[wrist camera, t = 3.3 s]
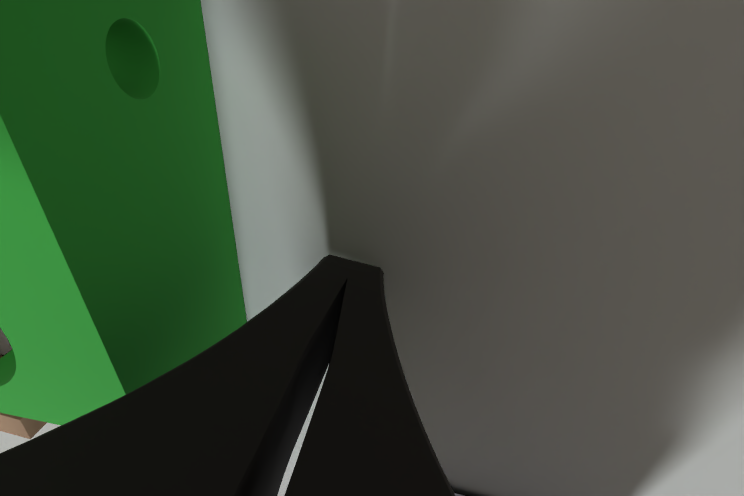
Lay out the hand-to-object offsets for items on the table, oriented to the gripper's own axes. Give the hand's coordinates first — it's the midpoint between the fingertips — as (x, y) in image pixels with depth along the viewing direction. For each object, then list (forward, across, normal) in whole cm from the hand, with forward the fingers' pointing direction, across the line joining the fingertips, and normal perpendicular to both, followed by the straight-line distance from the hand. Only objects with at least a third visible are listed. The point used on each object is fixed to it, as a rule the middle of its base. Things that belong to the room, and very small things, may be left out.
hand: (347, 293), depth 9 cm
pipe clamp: (+1, +5, 0) cm, 5 cm away
